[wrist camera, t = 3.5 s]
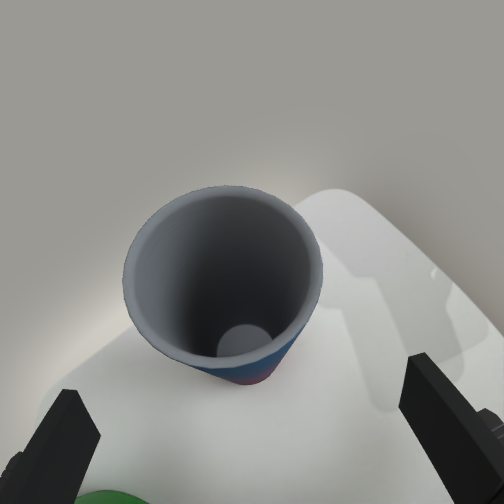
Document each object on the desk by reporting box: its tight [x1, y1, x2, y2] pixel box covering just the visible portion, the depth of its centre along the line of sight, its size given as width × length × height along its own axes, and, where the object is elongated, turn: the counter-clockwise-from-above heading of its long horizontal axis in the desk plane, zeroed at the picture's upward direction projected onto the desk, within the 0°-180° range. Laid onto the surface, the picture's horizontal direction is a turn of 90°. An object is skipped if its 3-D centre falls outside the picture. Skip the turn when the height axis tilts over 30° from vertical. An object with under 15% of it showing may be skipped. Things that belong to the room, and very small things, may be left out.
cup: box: [122, 186, 323, 385], centre depth 17 cm, size 7×7×15 cm
